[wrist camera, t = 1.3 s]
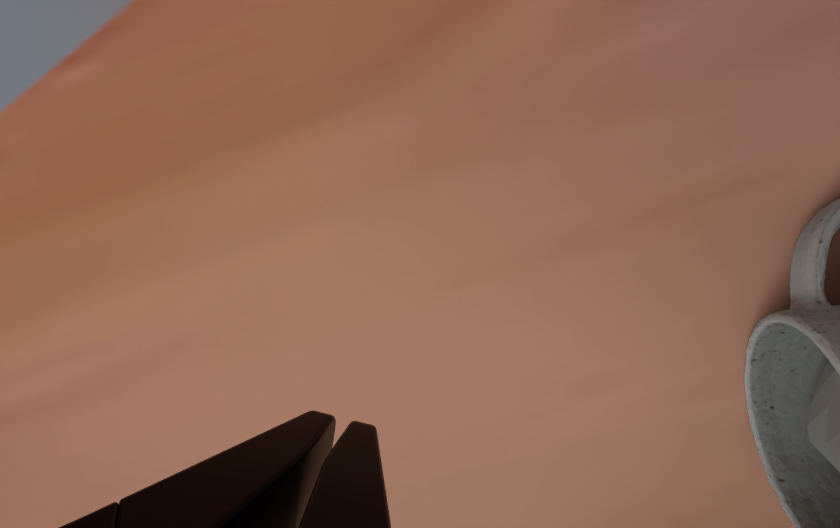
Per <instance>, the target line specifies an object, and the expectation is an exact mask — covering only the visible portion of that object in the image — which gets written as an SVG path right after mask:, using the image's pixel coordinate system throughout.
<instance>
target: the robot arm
mask: <svg viewBox="0 0 840 528" xmlns="http://www.w3.org/2000/svg"><path fill="white" fill-rule="evenodd" d="M335 424H336V421H335V417H334V416H332V415H329V414H325V413H321V412H317V411H309V412H306V413H304V414H302V415H300V416H298V417H296V418H294V419H292V420H289V421H287V422H285V423H283V424H281V425H279V426H277V427H274V428H272V429H270V430H268V431H266V432H264V433H262V434H260V435H257V436H255V437H253V438H251V439H249V440H247V441H245V442H242V443H240V444H238V445H236V446H234V447H232V448H230V449H227V450H225V451H223V452H221V453H219V454H217V455H215V456H213V457H210V458H208V459H206V460H204V461H202V462H200V463H198V464H195V465H193V466H191V467H189V468H187V469H185V470H183V471H181V472H178V473H176V474H174V475H172V476H170V477H168V478H166V479H163V480H161V481H159V482H157V483H155V484H153V485H151V486H148V487H146V488H144V489H142V490H140V491H138V492H136V493H134V494H131V495H129V496H127V497H125V498H123V499H121V500H120V502H119V504H118V503H116V502H114V503H112V504H110V505H107V506H105V507H103V508H101V509H99V510H97V511H95V512H93V513H90V514H88V515H86V516H84V517H82V518H79V519H77V520H75V521H73V522H70V523H68V524H66V525H64V526H61V527H59V528H391V524H390V517H389V510H388V504H387V497H386V490H385V484H384V477H383V470H382V463H381V457H380V450H379V443H378V437H377V430H376V427H375V426H373V425H370V424H366V423H362V422H357V421H352V422H351V423H350V424H349V425H348V427H347V428H346V429H345V431H344V432H343V434H342V435H341V437H340V438H339V440H338V441H337V443H336V444H335V445H334V447H333V448H332V446H333V439H334V432H335Z"/></svg>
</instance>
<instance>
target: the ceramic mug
mask: <svg viewBox="0 0 840 528" xmlns="http://www.w3.org/2000/svg"><path fill="white" fill-rule="evenodd" d="M839 228H840V198H839V199H837V200H835V201H833V202H832V203H830V204H828V205H826V206H825V207H824V208H822V209H821V210H819V211H818V212H817V213H816V214H815V215H814V217H813V218H812V219H811V220H810V222H809V223H808V224H807V225H806V226H805V228H804V229H803V230H802V232H801V233H800V235H799V237H798V239H797V241H796V244H795V247H794V251H793V255H792V264H791V271H790V298H791V304H790V309H788V310H781V311H778V312H774V313H771V314H769V315H767V316H765V317H764V318H763V319H761V320H760V321H759V322H758V323H757V324H756V326H755V327H754V330H753V332H752V334H751V336H750V338H749V341H748V345H747V350H746V358H745V375H744V381H745V392H746V401H747V410H748V413H749V418H750V425H751V428H752V432H753V435H754V437H755V441H756V445H757V449H758V452H759V455H760V458H761V460H762V463H763V466H764V468H765V471H766V474H767V477H768V480H769V482H770V484H771V486H772V487H773V489H774V491H775V493H776V495H777V496H778V498H779V500H780V503H781V505H782V508H783V509H784V511H785V512H786V513H787V515H788V516H789V518H790V519H791V521H792V523H793V525H794V527H795V528H840V305H832V306H831V305H830V303H829V302H828V301H827V299H826V296H825V293H824V279H825V275H826V261H827V256H828V251H829V246H830V242H831V240H832V238H833V236H834V234H835V233H836V232H837V230H838V229H839Z"/></svg>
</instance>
